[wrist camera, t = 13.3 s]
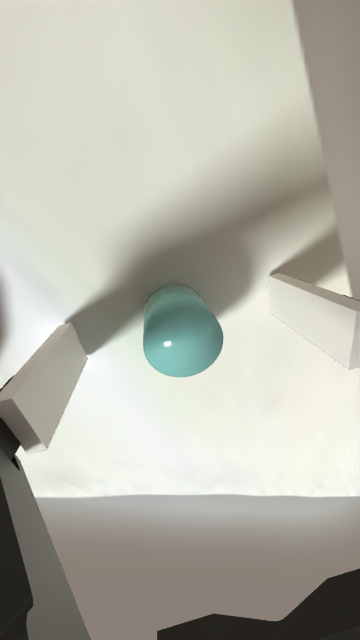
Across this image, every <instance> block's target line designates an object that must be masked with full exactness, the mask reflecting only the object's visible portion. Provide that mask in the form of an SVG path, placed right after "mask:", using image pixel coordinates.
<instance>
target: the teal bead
mask: <svg viewBox="0 0 360 640" xmlns="http://www.w3.org/2000/svg"><path fill="white" fill-rule="evenodd" d="M222 345H223V332H222V329H221V326H220V324H219V322H218V321H217V319H216V318H215V317H214V315H213V314H212V313H211V311H210V310H209V309H208V307H207V306H206V305H205V303H204V302H203V301H202V299H201V298H200V297H199V295H198V294H197V293H196V292H195V291H193V290H192V289H190V288H188V287H186V286H182V285H169V286H165V287H163V288H160V289H159V290H157V291H156V292H155V293H153V294H152V295H151V297H150V298H149V299H148V301H147V303H146V306H145V310H144V334H143V348H144V353H145V356H146V358H147V360H148V362H149V363H150V364H151V366H152V367H154V368H155V369H156V370H157V371H159V372H161V373H163V374H165V375H168V376H172V377H188V376H192V375H195V374H198V373H200V372H202V371H204V370H205V369H207V368H208V367H209V366H210V365H212V364H213V362H214V361H215V360H216V359H217V357H218V356H219V354H220V352H221V349H222Z"/></svg>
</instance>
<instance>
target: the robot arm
mask: <svg viewBox="0 0 360 640" xmlns="http://www.w3.org/2000/svg"><path fill="white" fill-rule="evenodd" d="M268 283H269V313H270V315H272V316H273V317H275V318H276V319H277V320H279V321H280V322H282V323H283V324H285V325H286V326H287V327H289V328H290V329H292V330H293V331H294V332H296V333H297V334H299V335H300V336H301V337H303V338H304V339H306V340H307V341H308V342H310V343H311V344H313V345H314V346H315V347H317V348H318V349H320V350H321V351H322V352H324V353H325V354H327V355H328V356H329V357H331V358H332V359H334V360H335V361H336V362H338V363H339V364H341V365H342V366H343V367H345V368H346V369H348V370H350V369H354V368H358V367H360V300H357V299H354V298H351V297H348V296H345V295H341V294H338V293H335V292H332V291H329V290H326V289H323V288H321V287H318V286H315V285H312V284H309V283H306V282H303V281H301V280H298V279H295V278H292V277H289V276H286V275H284V274H281V273H277V274H273V275H269V276H268ZM87 359H88V358H87V356H86V354H85V352H84V349H83V347H82V345H81V343H80V341H79V338H78V336H77V334H76V332H75V329H74V327H73V325H72V323H68V324H64V325H59V326H58V328H57V329H56V330H55V331H54V332H53V333H52V334H51V335H50V337H49V338H48V339H47V340H46V341H45V342H44V343H43V344H42V346H41V347H40V348H39V349H38V350H37V351H36V352H35V353H34V355H33V356H32V357H31V358H30V359H29V360H28V361H27V362H26V364H25V365H24V366H23V367H22V368H21V369H20V370H19V371H18V373H17V374H16V375H14V376H13V377H12V378H10V379H9V380H8V381H7V382H6V384H5V385H4V386H3V388H1V389H0V640H91V639H90V637H89V634H88V632H87V629H86V626H85V624H84V621H83V619H82V616H81V614H80V611H79V609H78V606H77V604H76V601H75V599H74V596H73V594H72V591H71V589H70V587H69V584H68V581H67V579H66V576H65V573H64V571H63V568H62V566H61V563H60V561H59V558H58V556H57V553H56V551H55V548H54V546H53V543H52V541H51V538H50V536H49V533H48V531H47V528H46V525H45V523H44V520H43V518H42V515H41V513H40V510H39V508H38V505H37V503H36V500H35V498H34V495H33V493H32V490H31V488H30V485H29V482H28V480H27V477H26V475H25V472H24V470H23V467H22V465H21V462H20V460H19V459H18V457H17V456H16V455H15V453H16V451H17V450H18V448H19V446H20V445H21V446H22V447H23V449H24V450H25V451H26V453H27V454H32V453H36V452H39V451H43V450H47V448H48V446H49V444H50V442H51V439H52V437H53V435H54V433H55V430H56V428H57V426H58V424H59V422H60V419H61V417H62V415H63V413H64V410H65V408H66V406H67V404H68V402H69V399H70V397H71V395H72V393H73V390H74V388H75V386H76V384H77V381H78V379H79V377H80V375H81V373H82V370H83V368H84V366H85V364H86V361H87ZM157 640H360V569H357V570H354V571H351V572H347V573H344V574H341V575H338V576H334V577H331V578H328V579H327V580H325V581H324V582H323V583H322V584H321V585H320V586H319V587H318V588H317V589H316V590H314V592H312V593H311V594H310V595H309V596H308V597H307V598H306V599H305V600H304V601H303V602H301V604H299V605H298V606H297V607H296V608H295V609H294V610H293V611H292V612H291V613H290V614H289V615H288V616H286V617H285V618H284V619H282V620H280V621H267V620H259V619H251V618H243V617H235V616H228V615H220V614H211V615H208V616H205V617H202V618H198V619H195V620H192V621H189V622H185V623H182V624H179V625H175V626H172V627H169V628H166V629H162V630H159V631H157Z"/></svg>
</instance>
